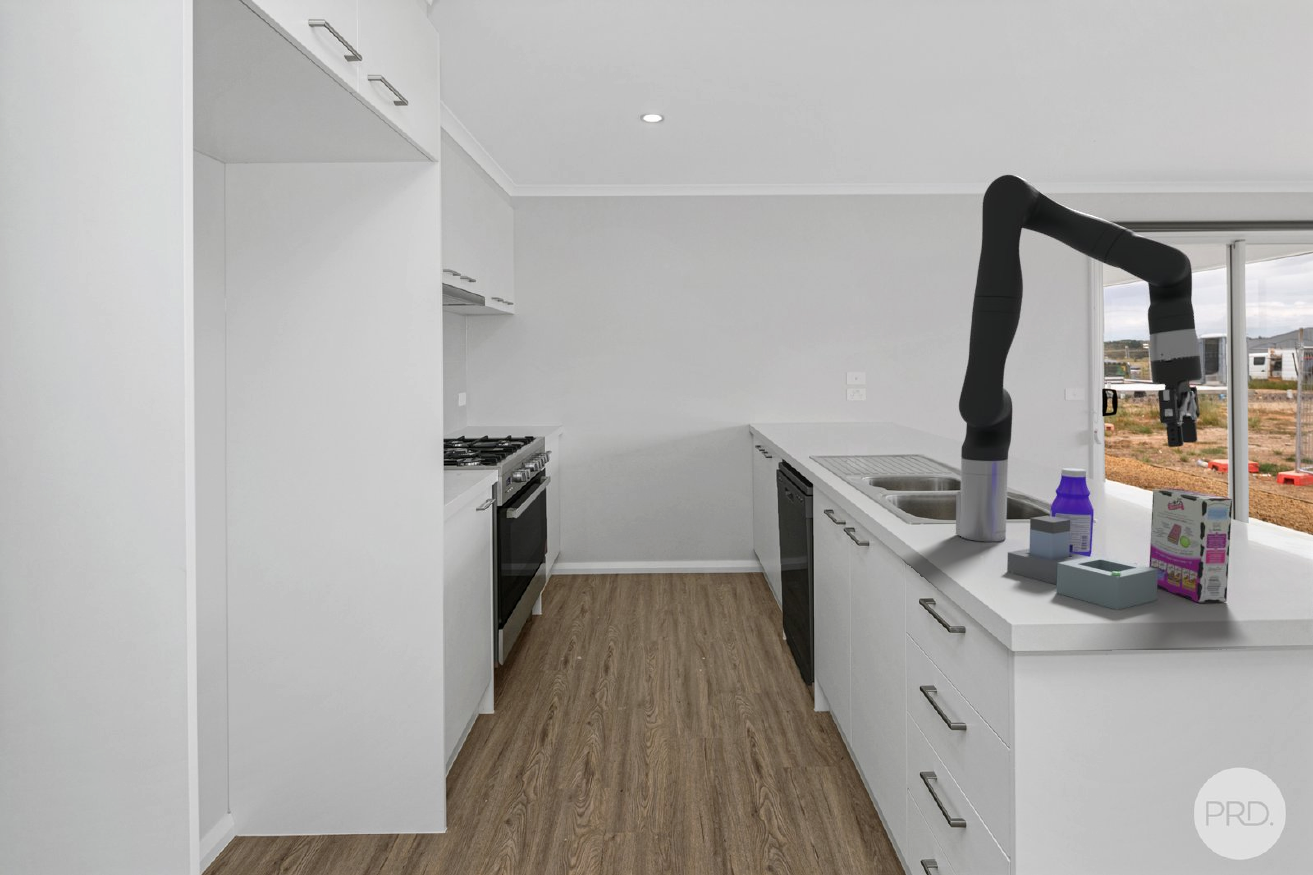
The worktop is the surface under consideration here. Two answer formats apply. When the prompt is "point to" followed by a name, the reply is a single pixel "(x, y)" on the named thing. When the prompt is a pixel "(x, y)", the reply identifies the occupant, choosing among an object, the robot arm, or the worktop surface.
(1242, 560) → the worktop surface
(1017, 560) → the holster
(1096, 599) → the port
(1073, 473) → the bottle
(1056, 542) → the plug
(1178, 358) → the robot arm
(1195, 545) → the candy bar box
